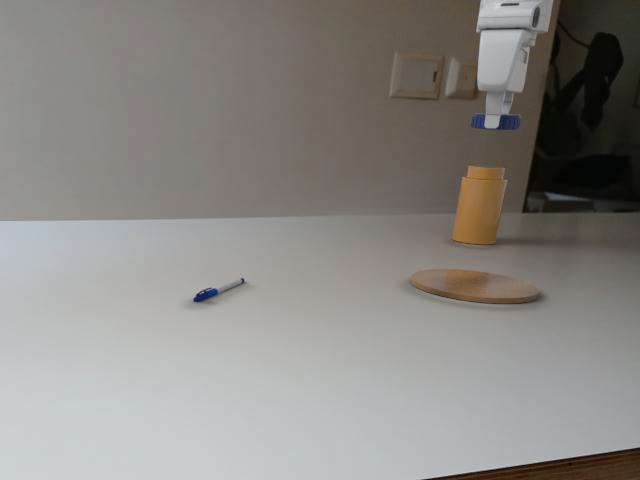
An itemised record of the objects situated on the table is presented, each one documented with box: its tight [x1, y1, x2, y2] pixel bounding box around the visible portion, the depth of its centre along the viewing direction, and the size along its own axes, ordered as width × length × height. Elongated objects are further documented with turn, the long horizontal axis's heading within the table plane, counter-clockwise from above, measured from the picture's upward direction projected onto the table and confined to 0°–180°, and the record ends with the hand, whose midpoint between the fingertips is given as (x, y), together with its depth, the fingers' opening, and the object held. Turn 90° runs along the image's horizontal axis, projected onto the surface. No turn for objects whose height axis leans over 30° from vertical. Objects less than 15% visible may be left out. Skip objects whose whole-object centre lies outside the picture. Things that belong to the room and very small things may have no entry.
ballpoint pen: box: [193, 277, 245, 303], centre depth 76 cm, size 10×1×1 cm, turn 149°
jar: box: [451, 164, 508, 246], centre depth 107 cm, size 6×6×11 cm
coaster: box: [410, 268, 540, 305], centre depth 81 cm, size 13×13×1 cm
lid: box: [470, 112, 522, 131], centre depth 103 cm, size 6×6×2 cm
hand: (495, 127), depth 103 cm, fingers closed on lid, 6 cm apart
